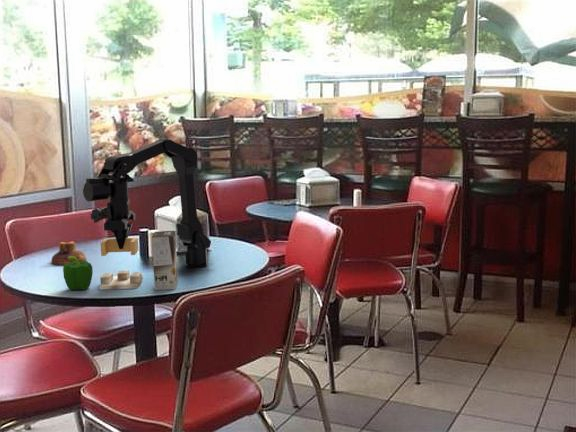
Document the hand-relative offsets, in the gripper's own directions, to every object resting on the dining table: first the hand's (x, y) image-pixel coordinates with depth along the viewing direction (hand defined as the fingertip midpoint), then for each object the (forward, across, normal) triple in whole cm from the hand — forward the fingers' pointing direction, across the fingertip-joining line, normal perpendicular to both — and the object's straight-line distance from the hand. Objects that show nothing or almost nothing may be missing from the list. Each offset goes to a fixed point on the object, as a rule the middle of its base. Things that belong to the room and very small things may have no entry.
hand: (121, 248), depth 217 cm
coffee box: (+11, +7, +14) cm, 19 cm away
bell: (+11, -30, -25) cm, 41 cm away
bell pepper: (+11, +7, -12) cm, 17 cm away
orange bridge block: (+1, +2, 0) cm, 3 cm away
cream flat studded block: (+10, +3, 0) cm, 11 cm away
